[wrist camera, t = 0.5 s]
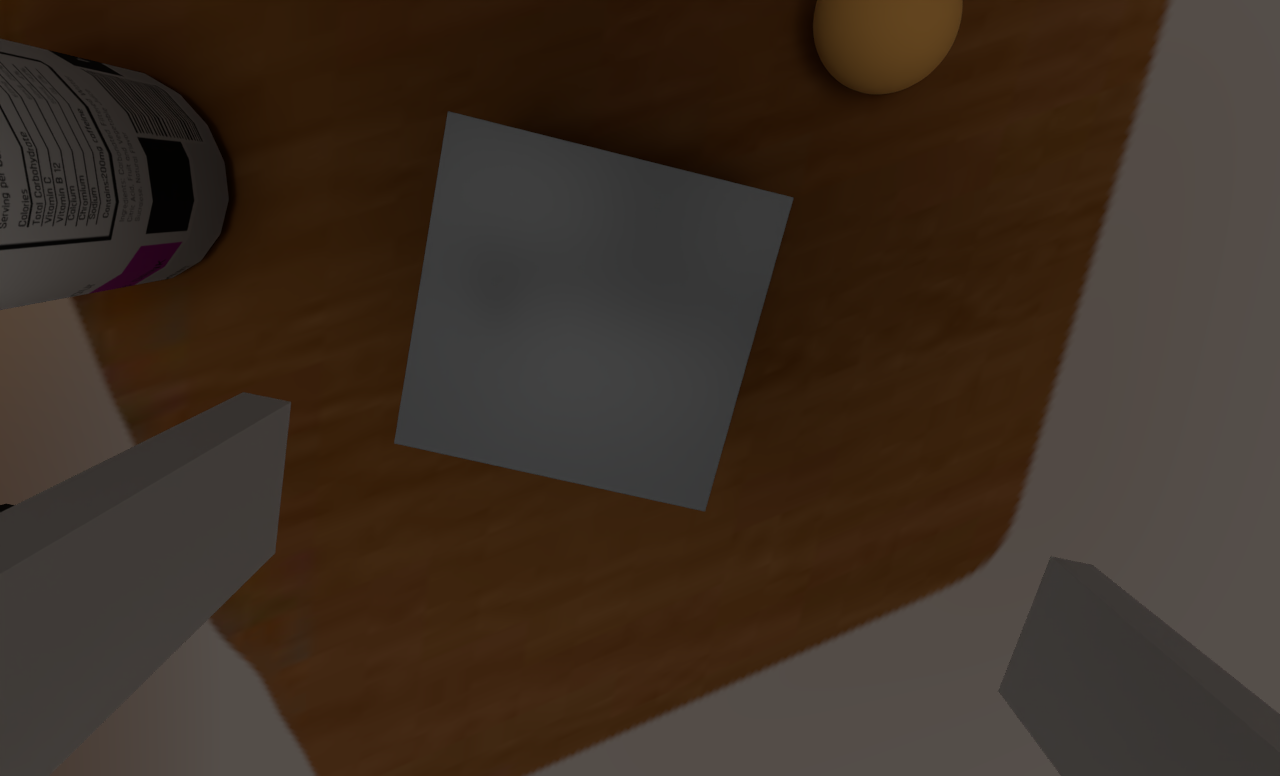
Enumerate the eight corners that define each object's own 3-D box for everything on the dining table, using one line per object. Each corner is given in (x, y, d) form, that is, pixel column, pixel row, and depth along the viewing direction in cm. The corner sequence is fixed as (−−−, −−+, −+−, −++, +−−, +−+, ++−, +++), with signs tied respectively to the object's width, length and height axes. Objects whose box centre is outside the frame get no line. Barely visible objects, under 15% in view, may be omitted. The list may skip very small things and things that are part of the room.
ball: (821, -55, 28) (860, -107, 23) (947, -20, 28) (1012, -65, 23) (784, 84, 29) (813, 63, 24) (904, 115, 29) (957, 101, 24)
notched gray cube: (502, 134, 29) (448, 111, 21) (749, 196, 30) (793, 197, 22) (458, 376, 32) (394, 443, 23) (686, 427, 33) (704, 511, 24)
